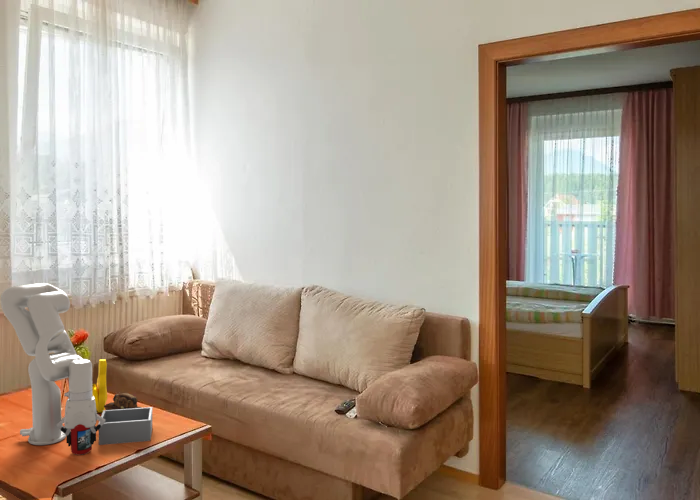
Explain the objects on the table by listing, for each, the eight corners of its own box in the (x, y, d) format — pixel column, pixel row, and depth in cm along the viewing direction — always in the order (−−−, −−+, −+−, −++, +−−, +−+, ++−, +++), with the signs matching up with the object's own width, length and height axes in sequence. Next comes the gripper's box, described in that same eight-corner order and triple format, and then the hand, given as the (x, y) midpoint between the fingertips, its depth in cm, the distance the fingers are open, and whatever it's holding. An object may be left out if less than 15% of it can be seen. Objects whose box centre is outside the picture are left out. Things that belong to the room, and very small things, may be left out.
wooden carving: (101, 418, 240) (101, 394, 239) (107, 414, 245) (107, 391, 244) (138, 421, 238) (138, 397, 237) (144, 417, 242) (144, 394, 241)
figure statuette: (84, 406, 253) (83, 356, 251) (103, 403, 257) (103, 354, 256) (91, 420, 238) (90, 367, 236) (111, 416, 243) (111, 364, 241)
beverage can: (84, 457, 205) (83, 423, 204) (66, 455, 206) (66, 421, 205) (96, 449, 211) (95, 416, 210) (79, 447, 213) (78, 415, 212)
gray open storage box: (98, 445, 215) (98, 423, 214) (103, 430, 228) (103, 410, 227) (150, 440, 220) (150, 420, 219) (152, 426, 233) (152, 407, 232)
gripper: (51, 400, 201) (52, 450, 202) (105, 396, 206) (106, 446, 207) (55, 393, 208) (56, 441, 210) (108, 390, 213) (109, 437, 214)
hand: (81, 443), depth 208 cm, fingers closed on beverage can, 6 cm apart
